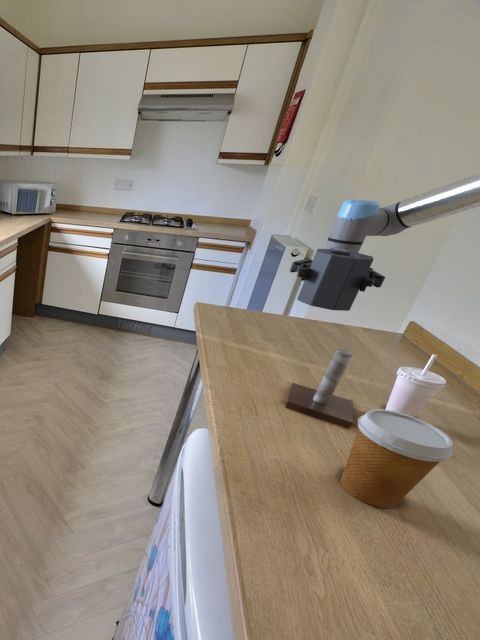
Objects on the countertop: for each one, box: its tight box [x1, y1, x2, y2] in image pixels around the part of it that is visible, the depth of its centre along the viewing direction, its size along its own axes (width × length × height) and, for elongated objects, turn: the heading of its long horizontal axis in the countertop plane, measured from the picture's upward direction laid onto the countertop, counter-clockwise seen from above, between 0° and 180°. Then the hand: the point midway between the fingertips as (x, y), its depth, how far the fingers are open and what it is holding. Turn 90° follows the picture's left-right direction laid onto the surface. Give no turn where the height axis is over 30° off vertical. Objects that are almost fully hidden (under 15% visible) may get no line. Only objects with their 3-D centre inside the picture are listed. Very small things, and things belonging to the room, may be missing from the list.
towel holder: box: [284, 348, 354, 430], centre depth 79 cm, size 10×10×12 cm
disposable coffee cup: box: [339, 408, 454, 509], centre depth 59 cm, size 10×10×12 cm
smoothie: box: [384, 353, 447, 418], centre depth 77 cm, size 6×6×14 cm
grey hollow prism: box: [296, 248, 375, 312], centre depth 96 cm, size 10×10×12 cm
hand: (333, 280), depth 93 cm, fingers closed on grey hollow prism, 10 cm apart
